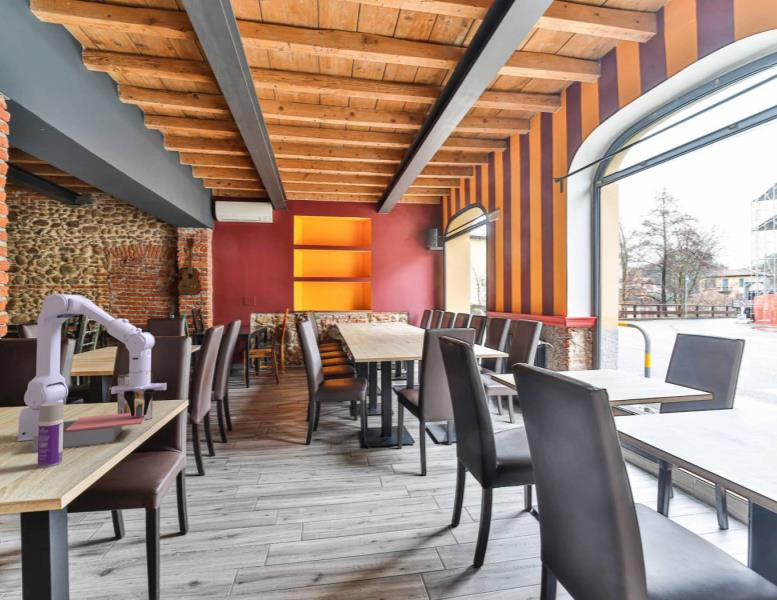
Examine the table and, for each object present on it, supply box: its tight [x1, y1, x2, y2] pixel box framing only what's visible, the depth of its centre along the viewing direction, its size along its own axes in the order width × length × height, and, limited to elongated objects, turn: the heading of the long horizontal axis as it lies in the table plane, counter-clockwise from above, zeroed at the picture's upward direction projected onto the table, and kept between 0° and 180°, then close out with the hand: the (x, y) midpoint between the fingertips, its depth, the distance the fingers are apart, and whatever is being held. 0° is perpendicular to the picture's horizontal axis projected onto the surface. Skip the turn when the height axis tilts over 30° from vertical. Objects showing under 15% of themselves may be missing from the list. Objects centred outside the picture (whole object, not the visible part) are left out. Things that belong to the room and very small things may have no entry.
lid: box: [66, 404, 147, 432], centre depth 119 cm, size 18×14×4 cm
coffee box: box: [116, 373, 154, 421], centre depth 137 cm, size 9×6×16 cm
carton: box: [32, 419, 123, 453], centre depth 115 cm, size 18×14×4 cm
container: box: [37, 401, 64, 468], centre depth 98 cm, size 5×5×15 cm
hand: (139, 414), depth 122 cm, fingers open, 3 cm apart
